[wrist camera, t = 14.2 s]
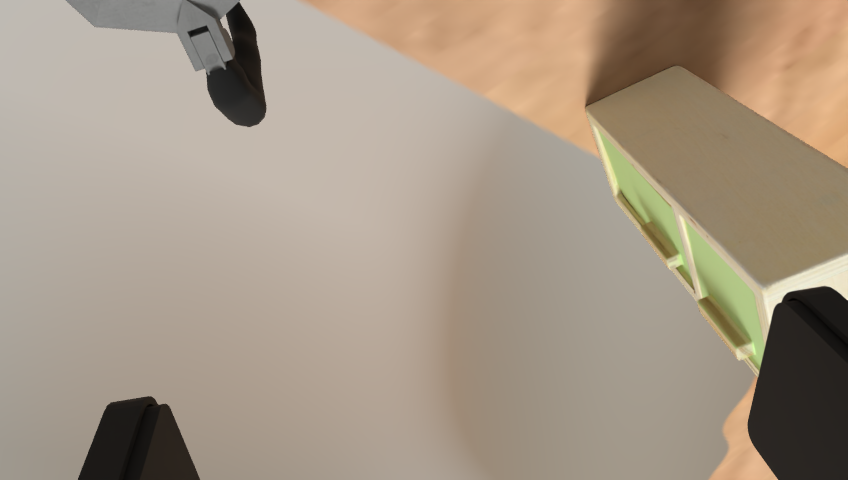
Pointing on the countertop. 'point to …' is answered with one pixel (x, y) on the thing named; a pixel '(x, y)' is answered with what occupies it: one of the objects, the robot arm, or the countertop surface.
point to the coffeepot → (198, 45)
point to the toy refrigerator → (724, 200)
